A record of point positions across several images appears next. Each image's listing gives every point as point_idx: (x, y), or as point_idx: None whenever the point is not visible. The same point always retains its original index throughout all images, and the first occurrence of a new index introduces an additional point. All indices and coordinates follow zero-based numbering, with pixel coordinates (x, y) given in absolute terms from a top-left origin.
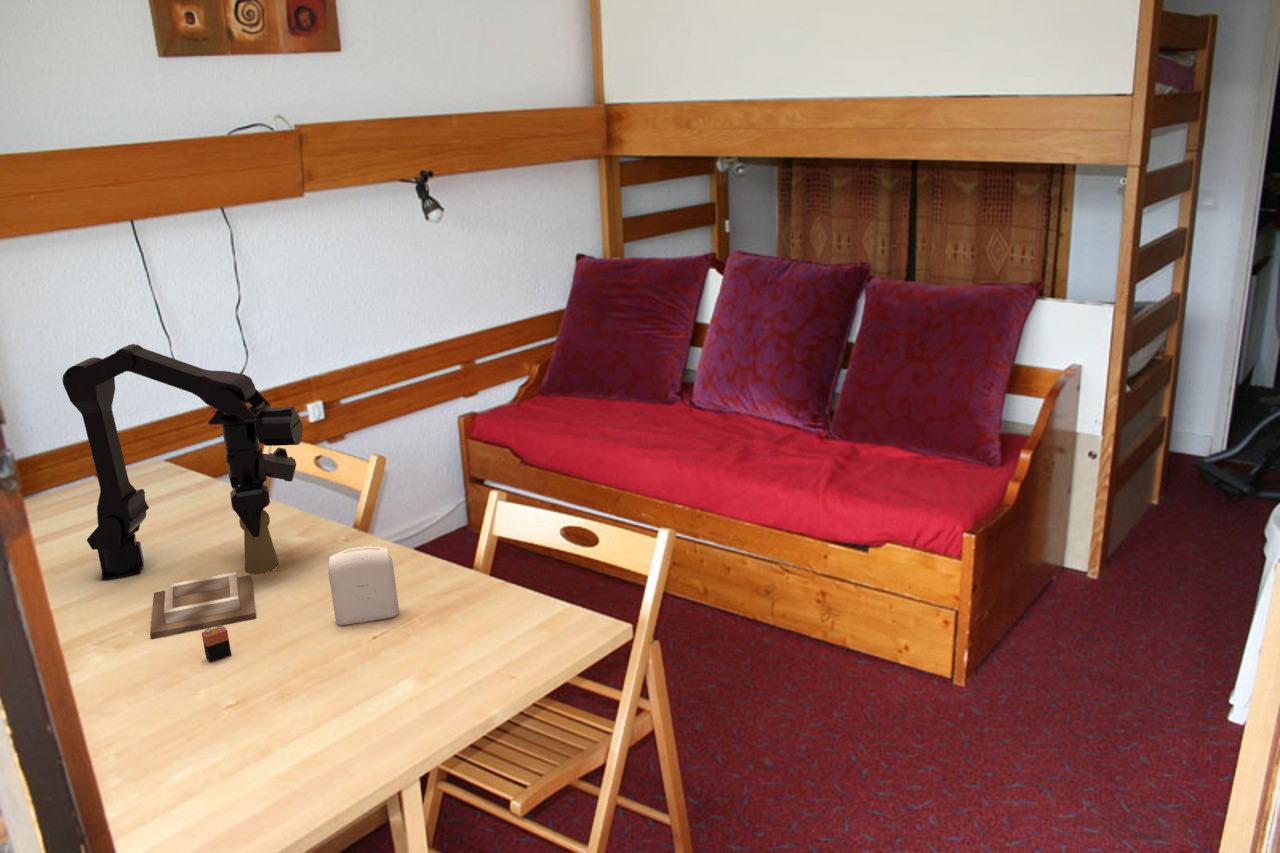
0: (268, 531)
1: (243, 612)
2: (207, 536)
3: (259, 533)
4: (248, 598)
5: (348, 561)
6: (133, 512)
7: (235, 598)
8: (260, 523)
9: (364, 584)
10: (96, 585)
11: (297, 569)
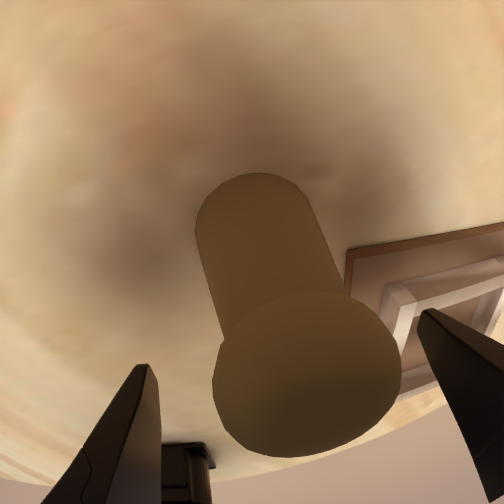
0: (306, 271)
1: None
2: (17, 375)
3: (443, 313)
4: (476, 245)
5: None
6: None
7: None
8: (494, 340)
9: None
10: (229, 464)
11: (330, 105)
